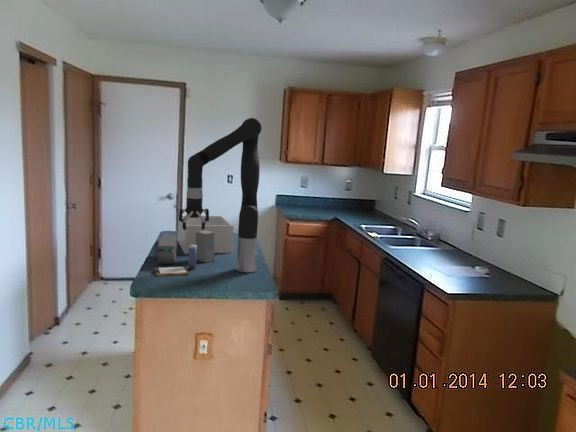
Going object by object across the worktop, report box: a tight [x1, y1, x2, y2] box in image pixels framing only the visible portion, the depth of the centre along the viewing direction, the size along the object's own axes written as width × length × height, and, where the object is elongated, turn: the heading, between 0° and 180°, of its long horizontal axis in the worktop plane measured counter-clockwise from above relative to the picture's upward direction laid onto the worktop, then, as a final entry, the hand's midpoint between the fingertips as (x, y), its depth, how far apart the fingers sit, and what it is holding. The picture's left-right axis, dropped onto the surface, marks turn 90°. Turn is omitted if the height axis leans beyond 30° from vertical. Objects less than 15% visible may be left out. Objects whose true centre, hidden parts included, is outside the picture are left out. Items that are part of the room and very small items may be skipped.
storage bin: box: [177, 215, 235, 255], centre depth 266 cm, size 27×31×16 cm
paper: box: [158, 266, 186, 274], centre depth 213 cm, size 12×9×1 cm
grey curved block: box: [157, 234, 178, 265], centre depth 232 cm, size 25×8×11 cm, turn 10°
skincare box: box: [196, 230, 216, 263], centre depth 237 cm, size 8×7×16 cm
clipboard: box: [153, 266, 190, 277], centre depth 213 cm, size 15×11×2 cm
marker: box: [187, 245, 197, 271], centre depth 220 cm, size 4×4×12 cm
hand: (193, 229), depth 217 cm, fingers open, 8 cm apart
